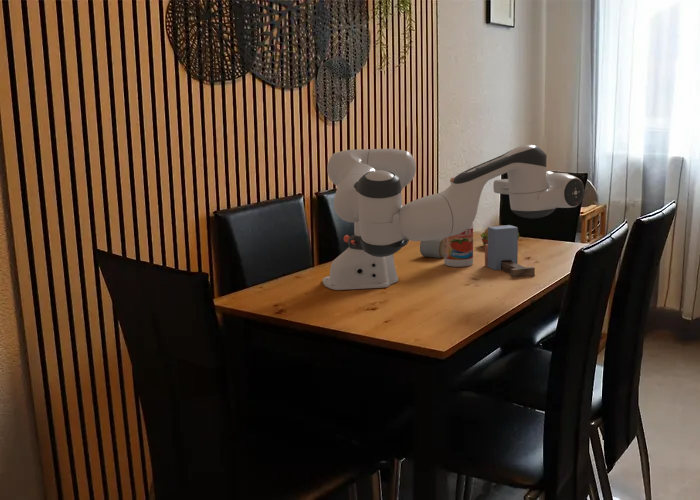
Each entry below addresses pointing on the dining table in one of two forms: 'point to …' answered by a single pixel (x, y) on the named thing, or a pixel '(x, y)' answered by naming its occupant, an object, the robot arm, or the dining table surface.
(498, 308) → the dining table surface
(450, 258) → the fruit juice
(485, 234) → the food
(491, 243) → the block
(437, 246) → the ceramic mug
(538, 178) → the robot arm
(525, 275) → the rail
